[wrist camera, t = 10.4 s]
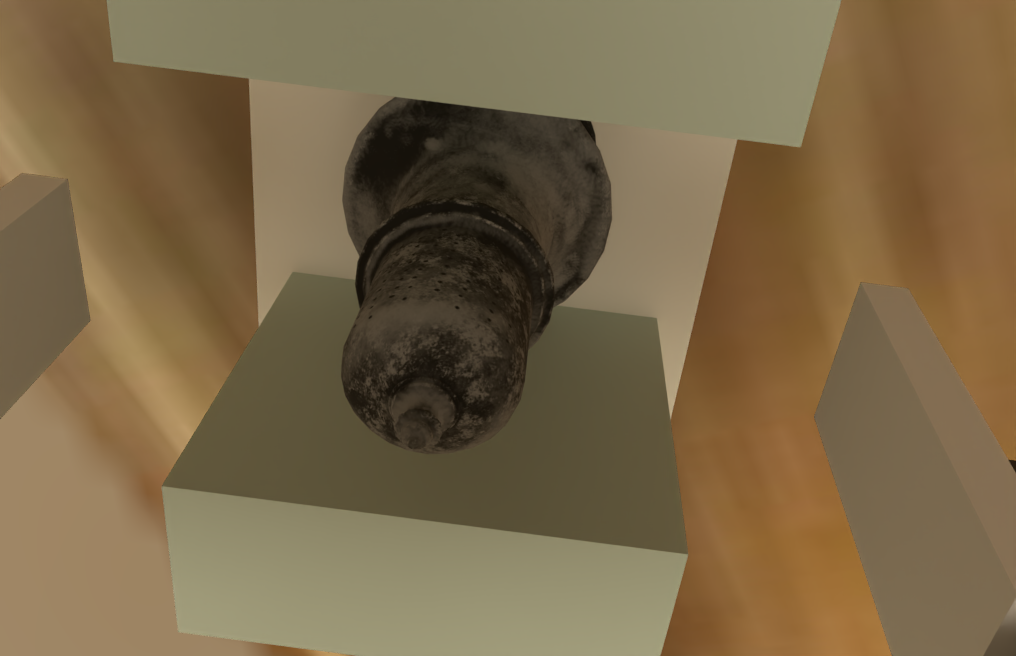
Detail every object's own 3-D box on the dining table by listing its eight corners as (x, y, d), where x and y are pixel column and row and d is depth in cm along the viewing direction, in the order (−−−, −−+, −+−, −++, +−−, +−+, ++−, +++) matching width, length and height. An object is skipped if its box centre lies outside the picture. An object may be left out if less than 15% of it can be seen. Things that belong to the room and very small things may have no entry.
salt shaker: (597, 269, 24) (606, 617, 14) (377, 253, 25) (226, 583, 14) (621, 41, 21) (654, 269, 11) (370, 27, 22) (174, 236, 11)
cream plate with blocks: (250, -274, 20) (-11, -323, 11) (809, -207, 20) (984, -204, 11) (271, 383, 28) (133, 642, 20) (659, 432, 28) (692, 715, 20)
